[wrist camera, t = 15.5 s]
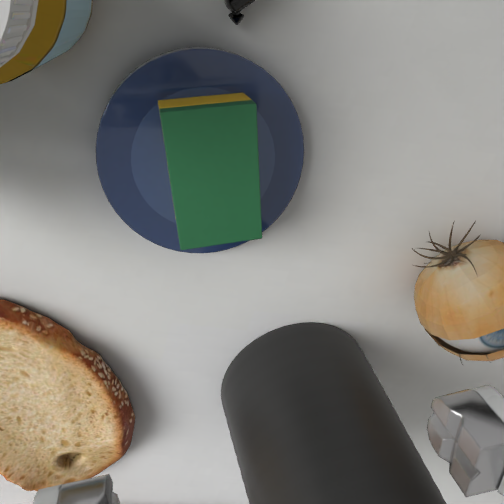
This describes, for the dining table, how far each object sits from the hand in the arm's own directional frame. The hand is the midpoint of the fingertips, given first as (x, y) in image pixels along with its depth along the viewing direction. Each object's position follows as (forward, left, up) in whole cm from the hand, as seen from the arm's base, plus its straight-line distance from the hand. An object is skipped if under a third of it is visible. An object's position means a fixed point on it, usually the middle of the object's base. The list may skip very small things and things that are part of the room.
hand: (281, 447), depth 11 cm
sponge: (-1, +1, -20) cm, 20 cm away
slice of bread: (+16, -15, -21) cm, 31 cm away
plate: (-1, +1, -21) cm, 21 cm away
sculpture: (+12, +21, -21) cm, 32 cm away
